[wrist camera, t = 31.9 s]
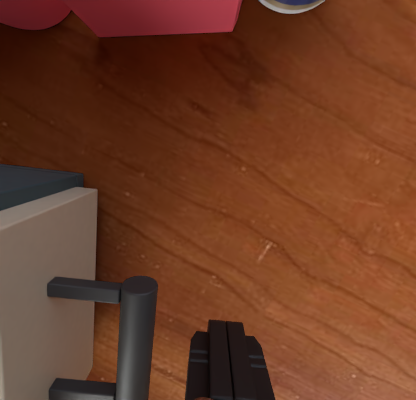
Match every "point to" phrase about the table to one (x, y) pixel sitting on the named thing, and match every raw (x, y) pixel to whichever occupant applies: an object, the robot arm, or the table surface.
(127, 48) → the table surface
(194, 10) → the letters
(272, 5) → the pill bottle
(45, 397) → the drawer
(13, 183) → the cabinet
